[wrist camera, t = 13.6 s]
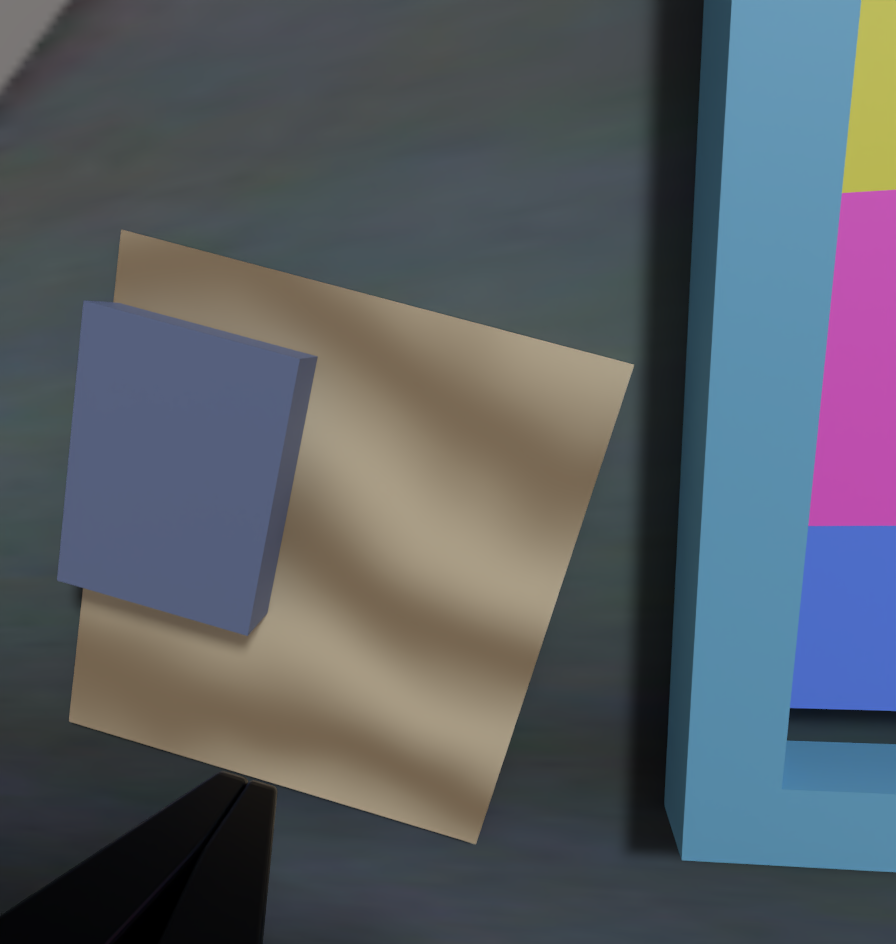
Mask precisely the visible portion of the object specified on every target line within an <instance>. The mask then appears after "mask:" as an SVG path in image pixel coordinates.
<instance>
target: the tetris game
mask: <svg viewBox="0 0 896 944" xmlns="http://www.w3.org/2000/svg"><path fill="white" fill-rule="evenodd" d="M790 708H809V709H845V710H881V711H896V0H704V11H703V31H702V52H701V72H700V92H699V112H698V132H697V153H696V173H695V193H694V213H693V233H692V254H691V274H690V294H689V314H688V334H687V355H686V375H685V395H684V415H683V435H682V456H681V476H680V496H679V516H678V536H677V556H676V577H675V597H674V617H673V637H672V657H671V678H670V698H669V718H668V738H667V758H666V779H665V799H664V806H665V809H666V813H667V816H668V819H669V822H670V825H671V828H672V832H673V835H674V838H675V841H676V844H677V847H678V851H679V854H680V857H681V860H686V861H704V862H722V863H739V864H757V865H775V866H793V867H811V868H829V869H847V870H865V871H883V872H896V744H867V743H838V742H808V741H787V731H788V721H789V712H790Z"/></svg>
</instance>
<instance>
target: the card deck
mask: <svg viewBox="0 0 896 944" xmlns="http://www.w3.org/2000/svg"><path fill="white" fill-rule="evenodd" d="M317 358H318V356H314V355H311V354H307V353H303V352H300V351H296V350H292V349H288V348H285V347H281V346H277V345H274V344H270V343H266V342H262V341H259V340H255V339H251V338H248V337H244V336H240V335H237V334H233V333H229V332H225V331H222V330H218V329H214V328H211V327H207V326H203V325H199V324H196V323H192V322H188V321H185V320H181V319H177V318H174V317H170V316H166V315H162V314H159V313H155V312H151V311H148V310H144V309H140V308H136V307H133V306H129V305H125V304H122V303H114V302H99V301H84V302H83V312H82V323H81V333H80V344H79V354H78V365H77V376H76V386H75V397H74V407H73V418H72V429H71V439H70V450H69V460H68V471H67V482H66V492H65V503H64V513H63V524H62V534H61V545H60V556H59V566H58V577H57V581H61V582H64V583H68V584H71V585H75V586H78V587H81V588H85V589H88V590H92V591H95V592H99V593H102V594H105V595H109V596H112V597H116V598H119V599H123V600H126V601H129V602H133V603H136V604H140V605H143V606H147V607H150V608H153V609H157V610H160V611H164V612H167V613H171V614H174V615H177V616H181V617H184V618H188V619H191V620H194V621H198V622H201V623H205V624H208V625H212V626H215V627H218V628H222V629H225V630H229V631H232V632H236V633H239V634H242V635H246V636H248V635H249V634H250V633H251V631H252V630H253V629H254V628H255V627H256V626H257V625H258V623H259V622H260V621H261V620H262V619H263V618H264V616H265V615H266V614H267V613H268V608H269V603H270V598H271V592H272V587H273V582H274V577H275V572H276V567H277V562H278V557H279V552H280V547H281V541H282V536H283V531H284V526H285V521H286V516H287V511H288V506H289V501H290V495H291V490H292V485H293V480H294V475H295V470H296V465H297V460H298V455H299V450H300V444H301V439H302V434H303V429H304V424H305V419H306V414H307V409H308V404H309V398H310V393H311V388H312V383H313V378H314V373H315V368H316V363H317Z"/></svg>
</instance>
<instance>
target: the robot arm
mask: <svg viewBox="0 0 896 944" xmlns="http://www.w3.org/2000/svg"><path fill="white" fill-rule="evenodd" d="M276 800H277V789H276V787H274V786H272V785H268V784H265V783H262V782H258V781H255V780H252V781H250V782H248V780H247V779H246V778H245V777H242V776H239V775H235V774H232V773H229V772H225V771H222V772H218V773H216V774H215V775H213V776H212V777H210V778H209V779H207V780H206V781H204V782H203V783H201V784H200V785H198V786H197V787H195V788H194V789H192V790H191V791H189V792H187V793H186V794H184V795H183V796H181V797H180V798H178V799H177V800H175V801H174V802H172V803H171V804H169V805H168V806H166V807H165V808H163V809H162V810H160V811H159V812H157V813H156V814H154V815H153V816H151V817H150V818H148V819H146V820H145V821H143V822H142V823H140V824H139V825H137V826H136V827H134V828H133V829H131V830H130V831H128V832H127V833H125V834H124V835H122V836H121V837H119V838H118V839H116V840H115V841H113V842H112V843H110V844H109V845H107V846H106V847H104V848H102V849H101V850H99V851H98V852H96V853H95V854H93V855H92V856H90V857H89V858H87V859H86V860H84V861H83V862H81V863H80V864H78V865H77V866H75V867H74V868H72V869H71V870H69V871H68V872H66V873H65V874H63V875H61V876H60V877H58V878H57V879H55V880H54V881H52V882H51V883H49V884H48V885H46V886H45V887H43V888H42V889H40V890H39V891H37V892H36V893H34V894H33V895H31V896H30V897H28V898H27V899H25V900H24V901H22V902H20V903H19V904H17V905H16V906H14V907H13V908H11V909H10V910H8V911H7V912H5V913H4V914H2V915H1V916H0V944H263V935H264V924H265V914H266V904H267V893H268V883H269V873H270V862H271V852H272V842H273V831H274V821H275V811H276Z"/></svg>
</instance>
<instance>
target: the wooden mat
mask: <svg viewBox="0 0 896 944" xmlns="http://www.w3.org/2000/svg"><path fill="white" fill-rule="evenodd" d="M114 303H122V304H125V305H129V306H133V307H136V308H140V309H144V310H148V311H151V312H155V313H159V314H162V315H166V316H170V317H174V318H177V319H181V320H185V321H188V322H192V323H196V324H199V325H203V326H207V327H211V328H214V329H218V330H222V331H225V332H229V333H233V334H237V335H240V336H244V337H248V338H251V339H255V340H259V341H262V342H266V343H270V344H274V345H277V346H281V347H285V348H288V349H292V350H296V351H300V352H303V353H307V354H311V355H314V356H318V358H317V363H316V368H315V373H314V378H313V383H312V388H311V393H310V398H309V404H308V409H307V414H306V419H305V424H304V429H303V434H302V439H301V444H300V450H299V455H298V460H297V465H296V470H295V475H294V480H293V485H292V490H291V495H290V501H289V506H288V511H287V516H286V521H285V526H284V531H283V536H282V541H281V547H280V552H279V557H278V562H277V567H276V572H275V577H274V582H273V587H272V592H271V598H270V603H269V608H268V613H267V614H266V615H265V616H264V618H263V619H262V620H261V621H260V622H259V623H258V625H257V626H256V627H255V628H254V629H253V630H252V631H251V633H250V634H249V635H248V636H246V635H242V634H239V633H236V632H232V631H229V630H225V629H222V628H218V627H215V626H212V625H208V624H205V623H201V622H198V621H194V620H191V619H188V618H184V617H181V616H177V615H174V614H171V613H167V612H164V611H160V610H157V609H153V608H150V607H147V606H143V605H140V604H136V603H133V602H129V601H126V600H123V599H119V598H116V597H112V596H109V595H105V594H102V593H99V592H95V591H92V590H88V589H85V588H83V594H82V603H81V612H80V622H79V631H78V641H77V650H76V659H75V669H74V678H73V688H72V697H71V706H70V716H69V722H72V723H75V724H79V725H82V726H85V727H89V728H92V729H95V730H99V731H102V732H105V733H109V734H112V735H115V736H119V737H122V738H125V739H128V740H132V741H135V742H138V743H142V744H145V745H148V746H152V747H155V748H158V749H162V750H165V751H168V752H172V753H175V754H178V755H182V756H185V757H188V758H191V759H195V760H198V761H201V762H205V763H208V764H211V765H215V766H218V767H221V768H225V769H228V770H231V771H235V772H238V773H241V774H244V775H248V776H251V777H254V778H258V779H261V780H264V781H268V782H271V783H274V784H278V785H281V786H284V787H288V788H291V789H294V790H297V791H301V792H304V793H307V794H311V795H314V796H317V797H321V798H324V799H327V800H331V801H334V802H337V803H341V804H344V805H347V806H351V807H354V808H357V809H360V810H364V811H367V812H370V813H374V814H377V815H380V816H384V817H387V818H390V819H394V820H397V821H400V822H404V823H407V824H410V825H413V826H417V827H420V828H423V829H427V830H430V831H433V832H437V833H440V834H443V835H447V836H450V837H453V838H457V839H460V840H463V841H466V842H470V843H473V844H476V842H477V839H478V836H479V833H480V830H481V827H482V824H483V821H484V818H485V815H486V812H487V809H488V806H489V803H490V800H491V797H492V794H493V791H494V788H495V785H496V782H497V779H498V776H499V773H500V770H501V767H502V764H503V760H504V757H505V754H506V751H507V748H508V745H509V742H510V739H511V736H512V733H513V730H514V727H515V724H516V721H517V718H518V715H519V712H520V709H521V706H522V703H523V700H524V697H525V694H526V691H527V688H528V685H529V682H530V679H531V676H532V673H533V670H534V667H535V664H536V661H537V658H538V655H539V652H540V649H541V646H542V643H543V639H544V636H545V633H546V630H547V627H548V624H549V621H550V618H551V615H552V612H553V609H554V606H555V603H556V600H557V597H558V594H559V591H560V588H561V585H562V582H563V579H564V576H565V573H566V570H567V567H568V564H569V561H570V558H571V555H572V552H573V549H574V546H575V543H576V540H577V537H578V534H579V531H580V528H581V525H582V522H583V518H584V515H585V512H586V509H587V506H588V503H589V500H590V497H591V494H592V491H593V488H594V485H595V482H596V479H597V476H598V473H599V470H600V467H601V464H602V461H603V458H604V455H605V452H606V449H607V446H608V443H609V440H610V437H611V434H612V431H613V428H614V425H615V422H616V419H617V416H618V413H619V410H620V407H621V404H622V401H623V397H624V394H625V391H626V388H627V385H628V382H629V379H630V376H631V373H632V370H633V367H634V365H633V364H629V363H626V362H622V361H618V360H614V359H611V358H607V357H603V356H599V355H595V354H592V353H588V352H584V351H580V350H576V349H573V348H569V347H565V346H561V345H557V344H554V343H550V342H546V341H542V340H538V339H535V338H531V337H527V336H523V335H519V334H516V333H512V332H508V331H504V330H501V329H497V328H493V327H489V326H485V325H482V324H478V323H474V322H470V321H466V320H463V319H459V318H455V317H451V316H447V315H444V314H440V313H436V312H432V311H428V310H425V309H421V308H417V307H413V306H410V305H406V304H402V303H398V302H394V301H391V300H387V299H383V298H379V297H375V296H372V295H368V294H364V293H360V292H356V291H353V290H349V289H345V288H341V287H337V286H334V285H330V284H326V283H322V282H318V281H315V280H311V279H307V278H303V277H300V276H296V275H292V274H288V273H284V272H281V271H277V270H273V269H269V268H265V267H262V266H258V265H254V264H250V263H246V262H243V261H239V260H235V259H231V258H227V257H224V256H220V255H216V254H212V253H209V252H205V251H201V250H197V249H193V248H190V247H186V246H182V245H178V244H174V243H171V242H167V241H163V240H159V239H155V238H152V237H148V236H144V235H140V234H136V233H133V232H129V231H125V230H121V237H120V246H119V255H118V265H117V274H116V284H115V293H114Z"/></svg>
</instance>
